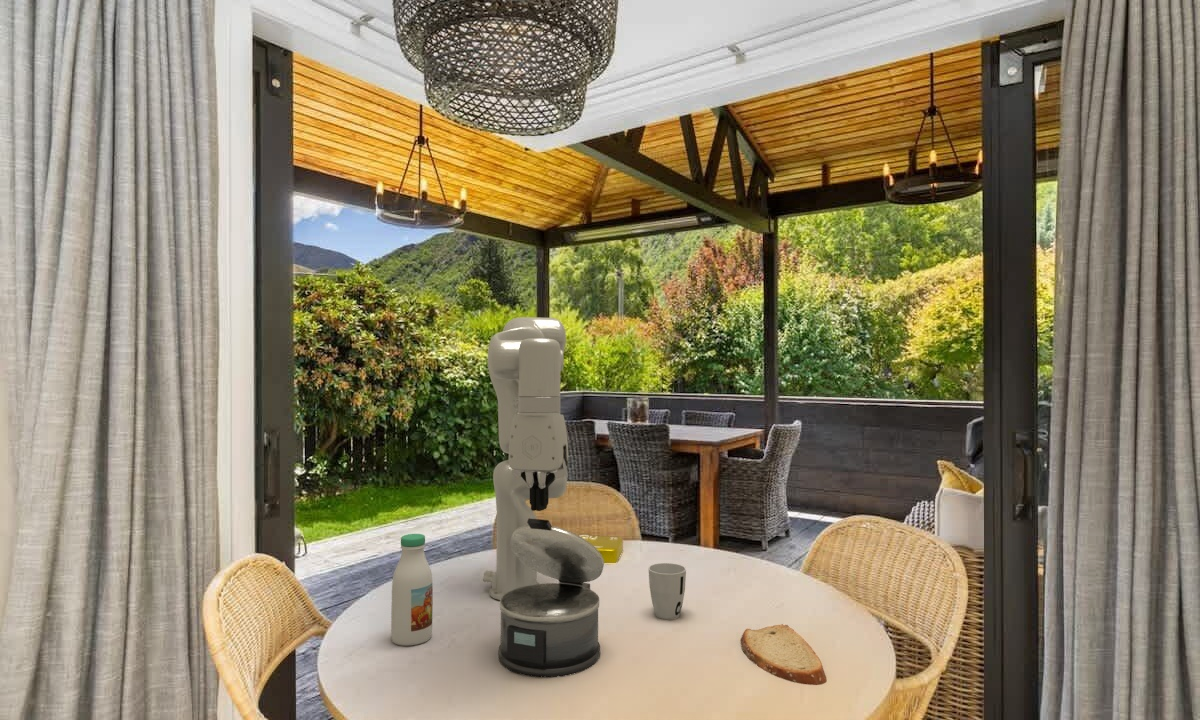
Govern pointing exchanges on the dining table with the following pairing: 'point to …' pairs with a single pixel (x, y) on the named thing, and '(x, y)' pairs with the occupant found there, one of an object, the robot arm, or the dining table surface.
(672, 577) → the cup
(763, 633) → the slice of bread
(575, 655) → the pot
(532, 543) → the lid
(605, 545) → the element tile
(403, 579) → the milk bottle
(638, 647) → the dining table surface
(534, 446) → the robot arm
